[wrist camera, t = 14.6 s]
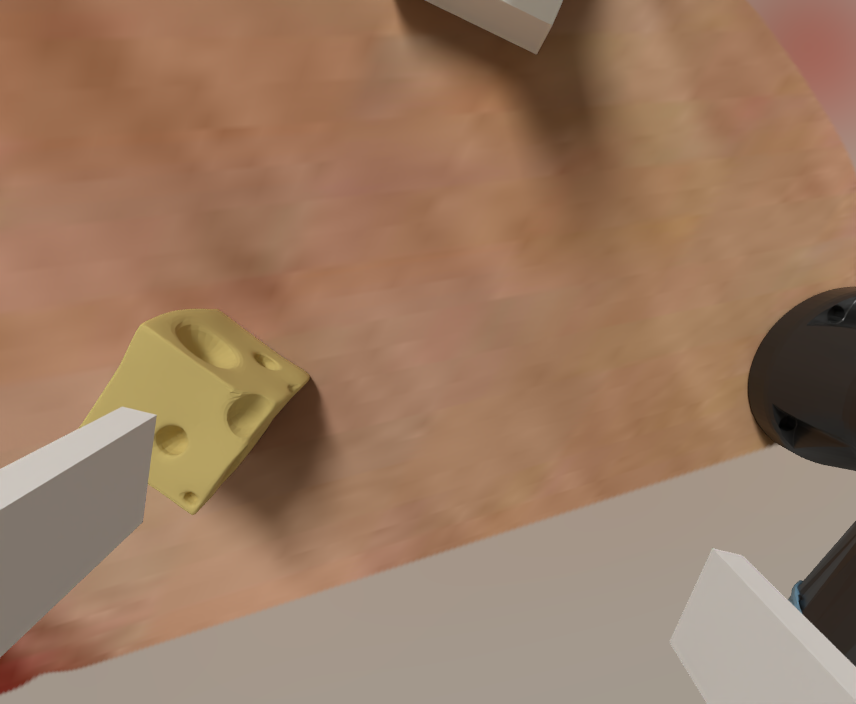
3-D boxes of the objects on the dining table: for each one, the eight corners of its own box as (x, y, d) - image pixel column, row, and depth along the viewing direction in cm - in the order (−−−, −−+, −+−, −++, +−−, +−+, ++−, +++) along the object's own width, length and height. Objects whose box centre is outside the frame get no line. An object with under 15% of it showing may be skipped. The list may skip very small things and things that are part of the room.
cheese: (314, 373, 40) (276, 414, 30) (246, 461, 41) (189, 527, 32) (214, 299, 38) (139, 316, 28) (148, 394, 40) (57, 441, 30)
